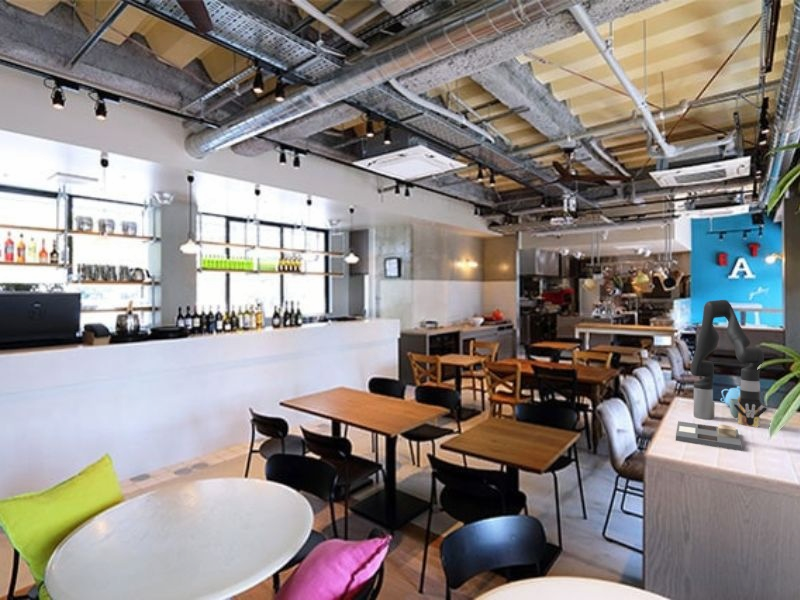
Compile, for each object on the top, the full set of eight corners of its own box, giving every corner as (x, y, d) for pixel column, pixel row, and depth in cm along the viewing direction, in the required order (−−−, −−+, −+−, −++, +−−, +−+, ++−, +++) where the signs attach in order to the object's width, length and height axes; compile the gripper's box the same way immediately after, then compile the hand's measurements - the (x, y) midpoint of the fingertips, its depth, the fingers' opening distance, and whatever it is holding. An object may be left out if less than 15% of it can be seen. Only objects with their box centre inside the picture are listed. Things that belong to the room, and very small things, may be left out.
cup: (731, 418, 254) (731, 401, 254) (728, 414, 261) (728, 398, 261) (748, 419, 251) (748, 402, 251) (745, 416, 258) (745, 399, 258)
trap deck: (737, 434, 227) (737, 429, 227) (741, 450, 204) (741, 445, 204) (678, 425, 242) (678, 421, 242) (675, 440, 219) (675, 435, 219)
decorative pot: (763, 411, 268) (763, 389, 267) (738, 412, 267) (738, 389, 266) (741, 404, 284) (741, 383, 284) (717, 405, 283) (717, 384, 283)
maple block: (735, 434, 219) (735, 426, 219) (736, 438, 213) (736, 430, 213) (717, 432, 223) (717, 424, 223) (718, 435, 217) (718, 427, 217)
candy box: (759, 426, 240) (759, 398, 239) (758, 427, 237) (758, 399, 236) (739, 422, 246) (739, 395, 246) (737, 424, 243) (738, 396, 243)
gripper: (766, 389, 212) (766, 425, 212) (732, 386, 220) (732, 420, 220) (768, 392, 206) (768, 429, 206) (733, 389, 213) (733, 424, 214)
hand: (749, 424), depth 213 cm, fingers closed
